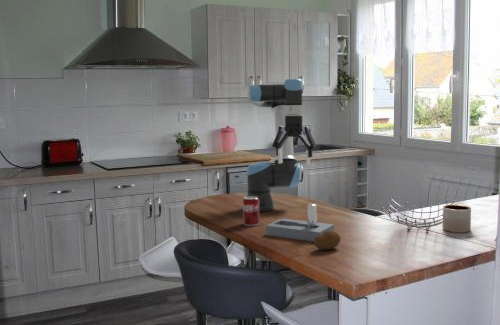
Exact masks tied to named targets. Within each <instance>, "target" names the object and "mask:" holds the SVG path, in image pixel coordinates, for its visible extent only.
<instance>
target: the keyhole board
mask: <svg viewBox="0 0 500 325" xmlns="http://www.w3.org/2000/svg"><path fill="white" fill-rule="evenodd" d="M325 231H334V232H335V224H334V223H333V224H332V223H323V222H317V228H308V220H299V219H292V218H291V219H290V218H280V219H277V220H275V221H274V222H271V223H268V224H266V225H265V236H268V237H269V236H270V237H278V238H284V237H285V238H286V239H292V240H301V241H305V240H306V242H313V243H314V239H315V237H317V236H318V235H320V234H322V233H323V232H325ZM285 238H284V239H285Z"/></svg>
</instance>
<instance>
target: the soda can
mask: <svg viewBox="0 0 500 325" xmlns="http://www.w3.org/2000/svg"><path fill="white" fill-rule="evenodd" d="M260 219H261V218H260V212H259V198H258V197H255V196H248V197H247V196H244V197H243V198H242V223H243V225H244V226H246V227H247V226H248V227H255V226H258V225H260V222H261V221H260Z"/></svg>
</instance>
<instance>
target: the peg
mask: <svg viewBox="0 0 500 325" xmlns="http://www.w3.org/2000/svg"><path fill="white" fill-rule="evenodd" d="M317 209H318V208H317V203H308V204H307V221H308V228H317V223H318V222H317V221H318V220H317V218H318V215H317V211H318V210H317Z"/></svg>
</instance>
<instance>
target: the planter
mask: <svg viewBox="0 0 500 325" xmlns="http://www.w3.org/2000/svg"><path fill="white" fill-rule="evenodd" d="M471 220H472V207H471V206H467V205H463V204H446V205H443V208H442V229H443V230H444V231H446V232H448V233H452V234H453V233H454V234H456V233H457V234H464V233H469V232H471V229H472V228H471V227H472V226H471V225H472V221H471Z"/></svg>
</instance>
